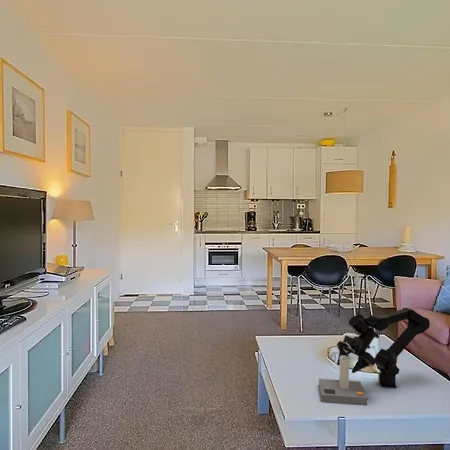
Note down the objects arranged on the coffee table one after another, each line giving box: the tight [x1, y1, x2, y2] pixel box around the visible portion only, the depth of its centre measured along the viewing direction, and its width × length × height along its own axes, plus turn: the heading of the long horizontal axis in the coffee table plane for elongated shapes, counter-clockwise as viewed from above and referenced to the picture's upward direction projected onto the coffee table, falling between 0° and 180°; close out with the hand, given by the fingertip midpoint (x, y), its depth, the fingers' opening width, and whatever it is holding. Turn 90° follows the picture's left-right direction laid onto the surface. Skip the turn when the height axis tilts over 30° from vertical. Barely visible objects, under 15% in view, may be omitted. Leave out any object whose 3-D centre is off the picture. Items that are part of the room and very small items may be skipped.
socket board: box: [318, 378, 368, 406], centre depth 171 cm, size 18×16×4 cm
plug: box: [338, 355, 350, 389], centre depth 171 cm, size 3×3×13 cm
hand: (344, 368), depth 172 cm, fingers open, 9 cm apart
